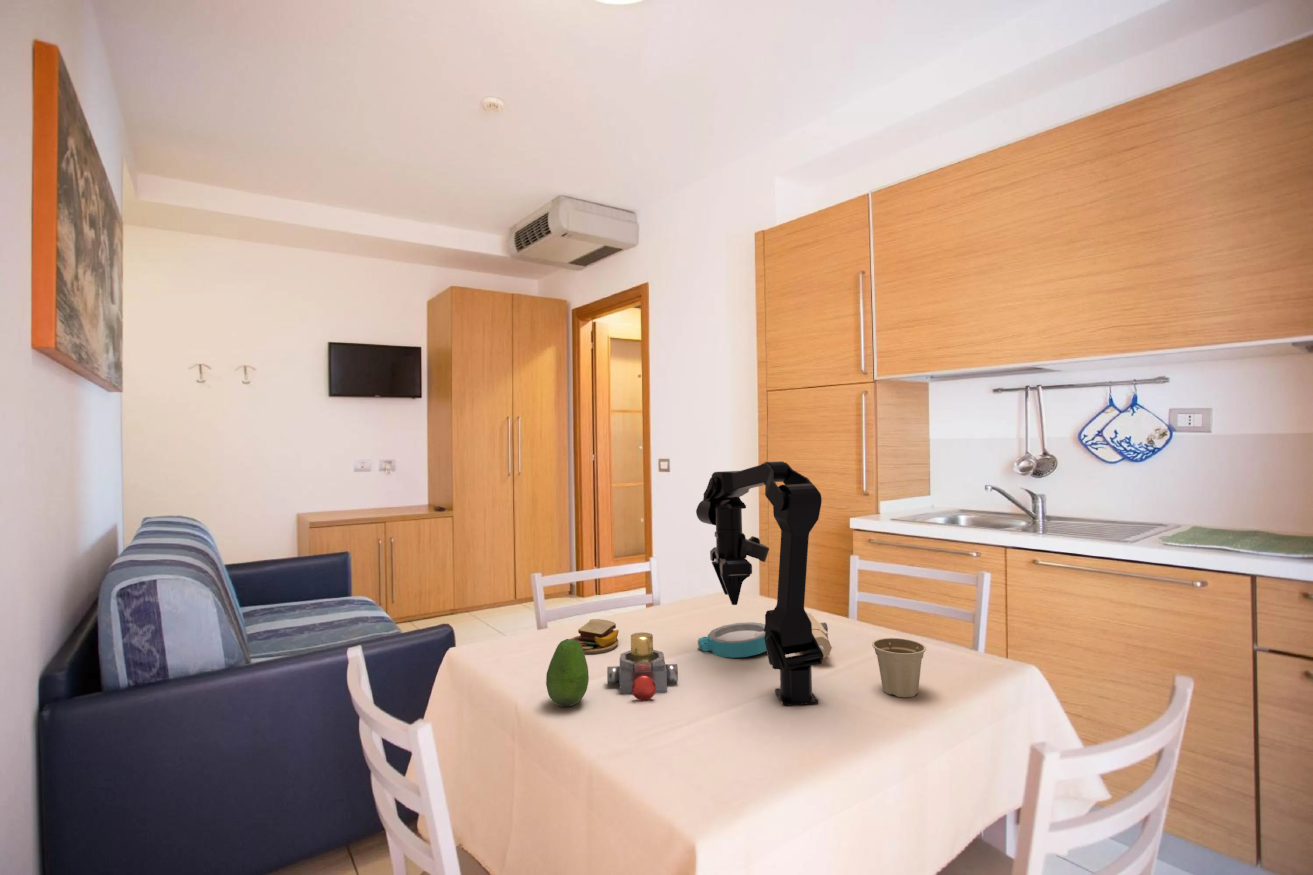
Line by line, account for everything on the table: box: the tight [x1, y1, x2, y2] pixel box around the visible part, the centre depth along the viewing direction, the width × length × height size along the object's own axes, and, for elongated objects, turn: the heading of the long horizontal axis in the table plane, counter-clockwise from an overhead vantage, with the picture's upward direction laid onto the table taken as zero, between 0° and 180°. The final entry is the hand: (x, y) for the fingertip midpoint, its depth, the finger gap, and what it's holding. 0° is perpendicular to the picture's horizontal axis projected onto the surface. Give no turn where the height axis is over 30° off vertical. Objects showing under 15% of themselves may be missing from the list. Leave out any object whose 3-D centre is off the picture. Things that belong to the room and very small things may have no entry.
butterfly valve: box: [697, 611, 832, 659], centre depth 142 cm, size 27×7×30 cm
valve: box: [606, 649, 679, 702], centre depth 121 cm, size 13×14×6 cm
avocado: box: [545, 638, 590, 707], centre depth 114 cm, size 8×8×12 cm
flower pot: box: [871, 637, 927, 698], centre depth 116 cm, size 9×9×9 cm
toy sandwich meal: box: [570, 618, 619, 655], centre depth 147 cm, size 12×14×5 cm
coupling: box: [630, 631, 654, 662], centre depth 122 cm, size 4×4×6 cm
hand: (730, 599), depth 136 cm, fingers open, 9 cm apart
